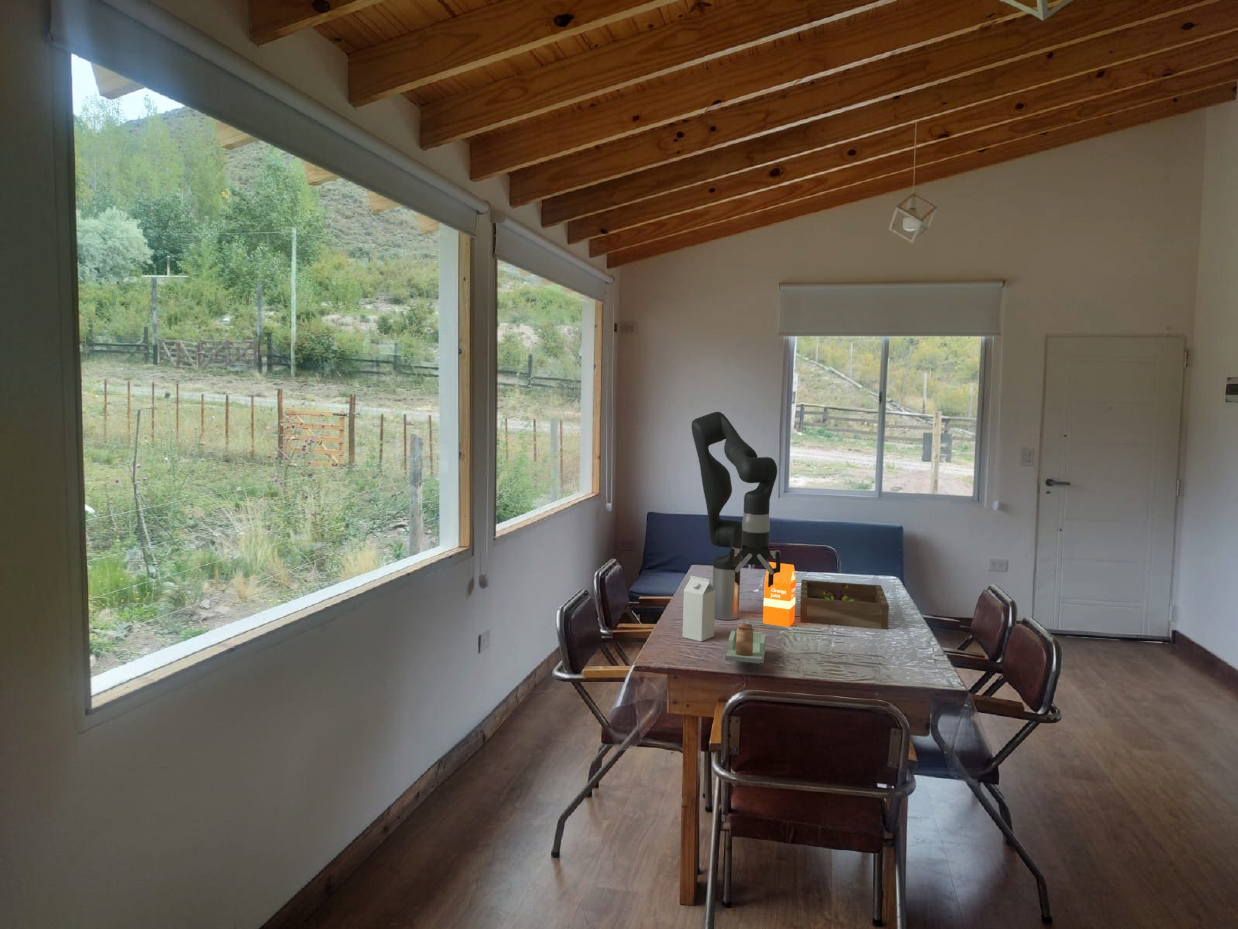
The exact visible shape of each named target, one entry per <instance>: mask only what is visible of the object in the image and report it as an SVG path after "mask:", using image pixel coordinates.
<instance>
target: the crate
mask: <svg viewBox="0 0 1238 929" xmlns="http://www.w3.org/2000/svg"><path fill="white" fill-rule="evenodd" d="M730 631H731V632H730V634H729V637H728V645H727V646H728V649H727V651H728V650H736V637H737V629H731V630H730ZM766 634H767V633H766V632H759V631H754V633H753V652H761V653H763V657H762V661H761V663H763V662H764V661H765V656H764V655H766ZM763 664H764V663H763Z"/></svg>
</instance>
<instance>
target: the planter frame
mask: <svg viewBox="0 0 1238 929" xmlns="http://www.w3.org/2000/svg"><path fill="white" fill-rule="evenodd" d="M842 584H847V585H848V588H847V589H845V588H844V586H843V587H842V589H841V594H846V595H847V596H848V599H847V600H846V601H842V600H832V599H831V596H832V597H834V596H833V593H832V592H830V591H828V592H827V594H826V595H825V596H824V595H823V592H824V591H827V590H832V591H834V592H835V593H836V594H837V595H838V590H839V588H840V586H841V585H842ZM825 597H827V598H829V599H831V600H829V599H826V598H825ZM843 597H844V596H842V598H843ZM853 599H854V601H849V600H853ZM799 605H800V608H799V610H800V616H799V623H806V624H807V623H808V624H818V625H829V626H830V625H831V626H841V627H853V628H863V629H875V630H877V629H878V630H886V631H887V630H889V629H888V628H889V615H890V614H889V611H890V605H889V602H888V600H887V597H886V594H885V592H884V588H883V587H882V585H881V584H869V583H868V584H866V583H855V582H854V583H852V582H839V581H826V580H811V579H801V581H800V604H799Z"/></svg>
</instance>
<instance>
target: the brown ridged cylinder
mask: <svg viewBox="0 0 1238 929" xmlns="http://www.w3.org/2000/svg"><path fill="white" fill-rule="evenodd" d="M736 630H737V637H736V654H737V655H741V656H752V654H753V633H754V632H755V631H754V628H753V624H750V623H738V627H737V628H736Z"/></svg>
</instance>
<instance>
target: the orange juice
mask: <svg viewBox="0 0 1238 929" xmlns="http://www.w3.org/2000/svg"><path fill="white" fill-rule="evenodd" d="M768 562H769V563H770V565H771V566H772V568H776V562H774V561H773V562H772V561H768ZM780 564H781V570H780V572H779V573H775V574H774V579H773V585H772V586H771V587H768V574H769V572H768V571H767V570H766V572H765V577H764V585H763V586H764V588H763V589H764V591H763V611H762V616H763V617H762V624H767V625H772V626H773V625H774V626H779V627H785V628H786V627H787V628H789V627H790V626H792V625H793V623H794V622H795V613H796V612H795V611H796V609H795V608H796V593H797V592H796V591H797V587H796V586H797V578H796V577H797V576H796V571H795V566H794V564H788V563H781V562H780Z"/></svg>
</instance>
